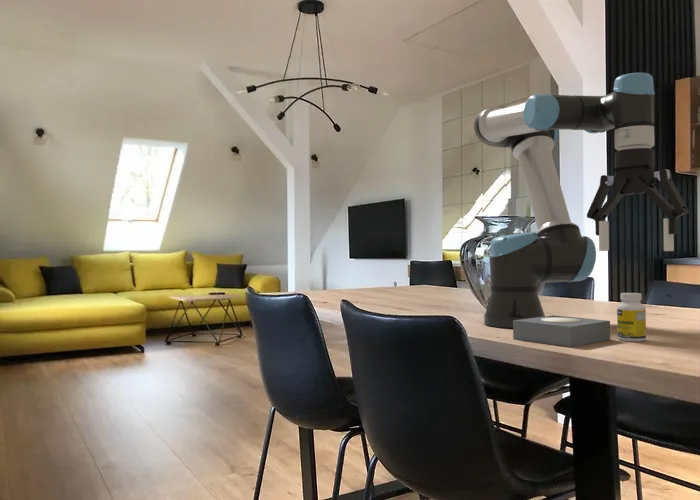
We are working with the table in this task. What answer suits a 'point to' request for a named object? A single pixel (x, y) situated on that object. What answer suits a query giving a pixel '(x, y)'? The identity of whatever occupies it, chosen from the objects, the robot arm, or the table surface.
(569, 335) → the riser
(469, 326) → the table surface
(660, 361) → the table surface
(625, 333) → the supplement bottle
